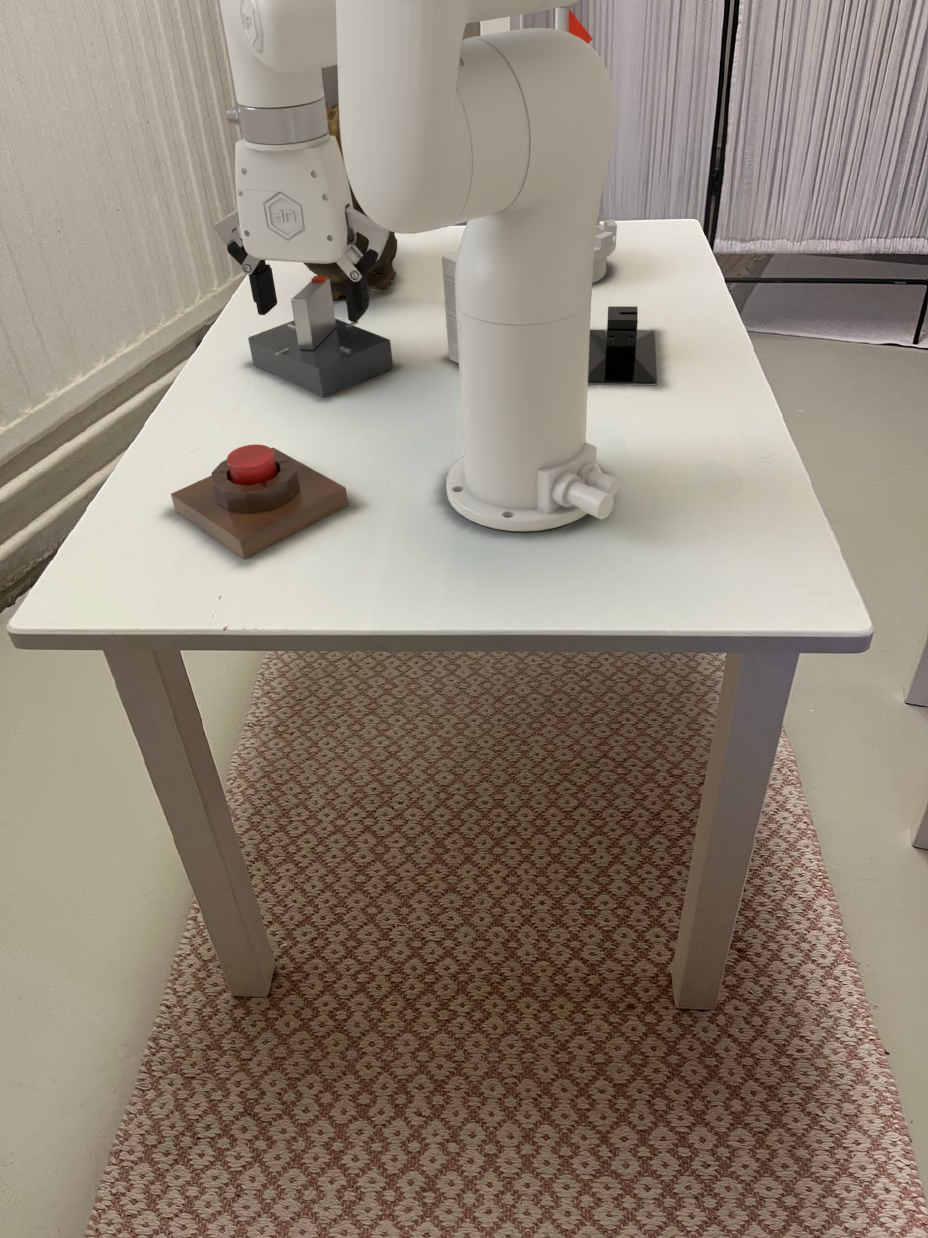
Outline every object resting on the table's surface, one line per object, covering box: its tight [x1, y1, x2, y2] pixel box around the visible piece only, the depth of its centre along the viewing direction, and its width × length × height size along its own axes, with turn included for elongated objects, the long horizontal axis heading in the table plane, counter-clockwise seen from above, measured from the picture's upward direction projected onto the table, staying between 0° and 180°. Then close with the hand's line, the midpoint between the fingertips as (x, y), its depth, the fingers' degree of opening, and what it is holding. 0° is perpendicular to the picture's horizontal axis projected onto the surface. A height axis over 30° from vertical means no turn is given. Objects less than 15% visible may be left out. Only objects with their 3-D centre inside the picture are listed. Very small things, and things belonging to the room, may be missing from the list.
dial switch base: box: [247, 317, 394, 399], centre depth 94 cm, size 12×10×3 cm
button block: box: [170, 447, 349, 560], centre depth 74 cm, size 10×10×4 cm
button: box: [226, 444, 277, 485], centre depth 72 cm, size 4×4×2 cm
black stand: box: [588, 305, 658, 386], centre depth 92 cm, size 12×7×5 cm, turn 172°
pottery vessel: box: [303, 102, 398, 300], centre depth 108 cm, size 25×11×20 cm, turn 176°
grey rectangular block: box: [290, 275, 336, 350], centre depth 92 cm, size 6×2×5 cm, turn 164°
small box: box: [441, 251, 459, 365], centre depth 92 cm, size 8×6×10 cm
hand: (312, 313), depth 92 cm, fingers open, 9 cm apart
